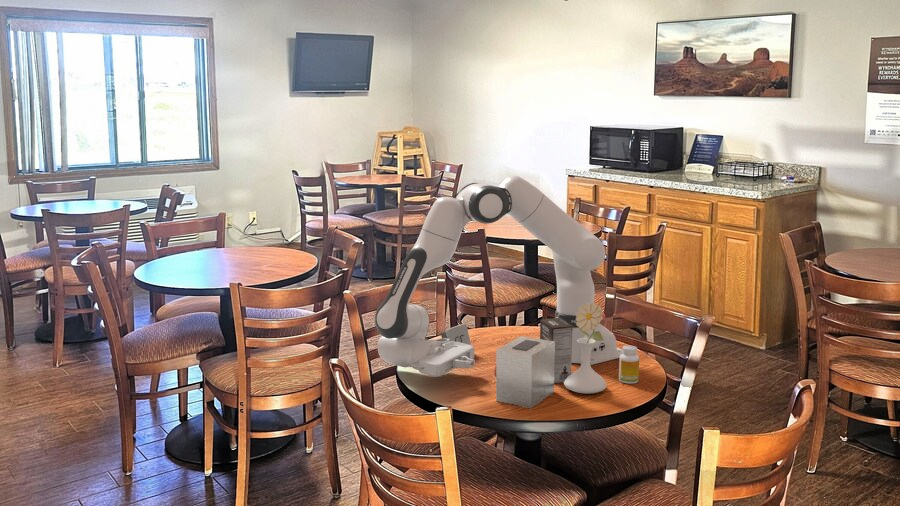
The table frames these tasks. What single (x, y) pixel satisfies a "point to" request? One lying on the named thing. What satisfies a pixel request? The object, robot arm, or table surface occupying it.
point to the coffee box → (559, 345)
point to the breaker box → (525, 371)
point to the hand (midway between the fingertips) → (472, 364)
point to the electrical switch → (457, 334)
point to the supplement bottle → (629, 365)
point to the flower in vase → (587, 352)
